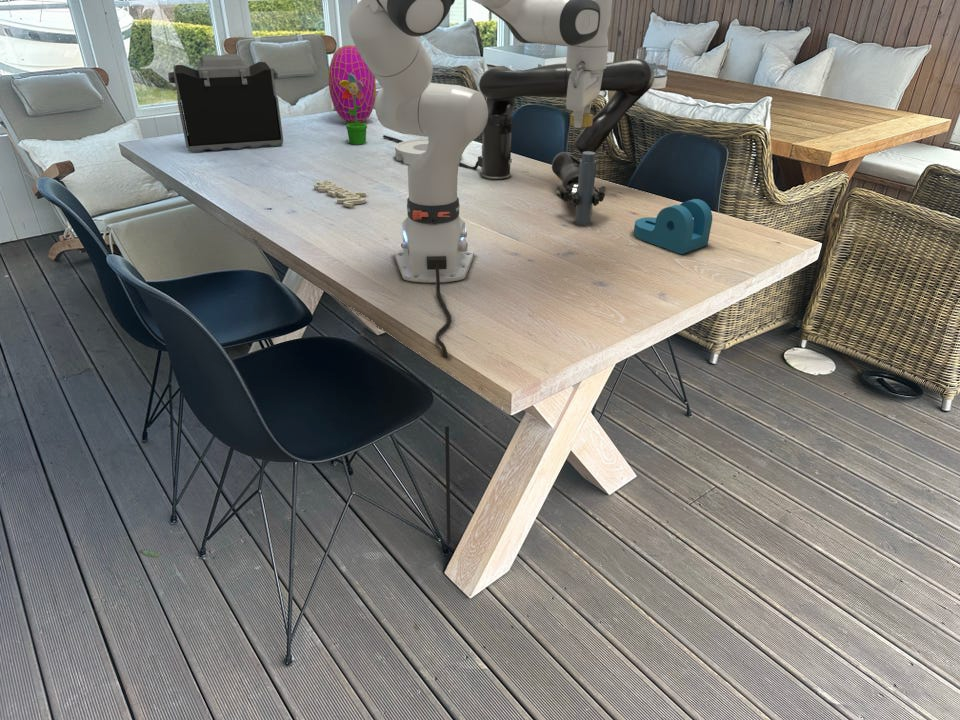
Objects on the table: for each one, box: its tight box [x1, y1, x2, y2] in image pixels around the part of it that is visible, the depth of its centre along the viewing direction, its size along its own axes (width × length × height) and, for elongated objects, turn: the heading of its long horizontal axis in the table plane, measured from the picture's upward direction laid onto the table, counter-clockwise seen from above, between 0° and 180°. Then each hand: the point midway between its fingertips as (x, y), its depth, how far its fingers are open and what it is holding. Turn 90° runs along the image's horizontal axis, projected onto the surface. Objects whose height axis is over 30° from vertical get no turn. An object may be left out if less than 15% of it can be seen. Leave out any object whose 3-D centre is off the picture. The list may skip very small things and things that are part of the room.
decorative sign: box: [313, 179, 366, 209], centre depth 205 cm, size 26×1×10 cm
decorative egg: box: [328, 44, 377, 124], centre depth 286 cm, size 19×19×30 cm
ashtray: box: [394, 138, 429, 166], centre depth 243 cm, size 23×23×4 cm
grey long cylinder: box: [574, 151, 597, 227], centre depth 181 cm, size 4×4×19 cm
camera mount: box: [632, 198, 713, 255], centre depth 173 cm, size 18×10×10 cm, turn 39°
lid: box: [569, 112, 594, 128], centre depth 157 cm, size 5×5×2 cm
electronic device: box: [167, 53, 284, 153], centre depth 252 cm, size 37×22×30 cm, turn 111°
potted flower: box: [339, 73, 368, 145], centre depth 255 cm, size 9×8×25 cm
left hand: (581, 124), depth 158 cm, fingers closed on lid, 5 cm apart
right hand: (586, 202), depth 180 cm, fingers closed on grey long cylinder, 4 cm apart
